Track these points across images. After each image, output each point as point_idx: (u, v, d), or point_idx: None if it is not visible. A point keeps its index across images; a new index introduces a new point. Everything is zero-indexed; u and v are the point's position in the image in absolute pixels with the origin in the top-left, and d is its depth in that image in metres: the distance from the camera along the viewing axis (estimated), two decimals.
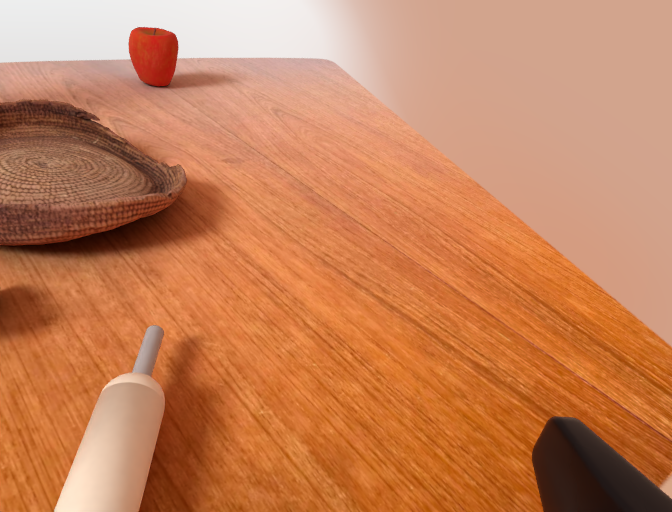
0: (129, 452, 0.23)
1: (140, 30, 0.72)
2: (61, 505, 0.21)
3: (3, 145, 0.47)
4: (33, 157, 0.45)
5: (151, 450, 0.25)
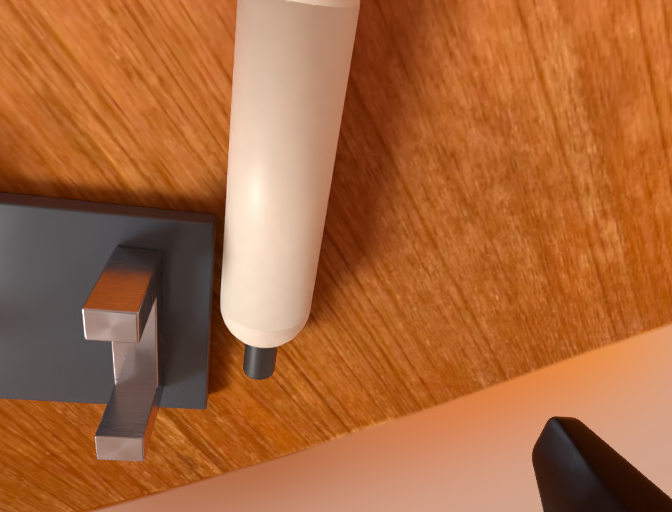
0: (314, 154, 0.15)
1: None
2: (238, 218, 0.16)
3: None
4: None
5: None
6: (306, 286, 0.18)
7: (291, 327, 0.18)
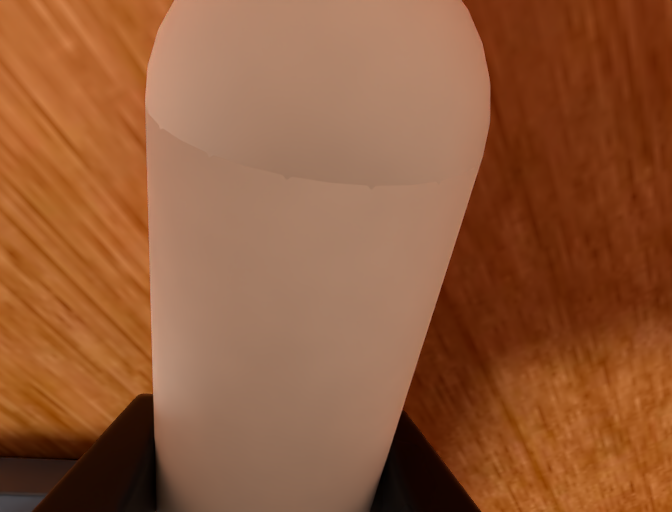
0: (353, 481, 0.06)
1: None
2: None
3: None
4: None
5: None
6: None
7: None
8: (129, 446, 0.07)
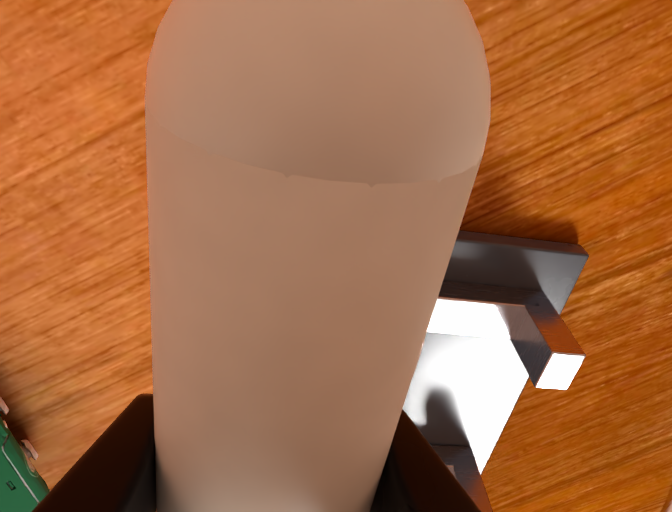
0: (353, 480, 0.06)
1: None
2: None
3: None
4: None
5: None
6: None
7: None
8: (129, 446, 0.07)
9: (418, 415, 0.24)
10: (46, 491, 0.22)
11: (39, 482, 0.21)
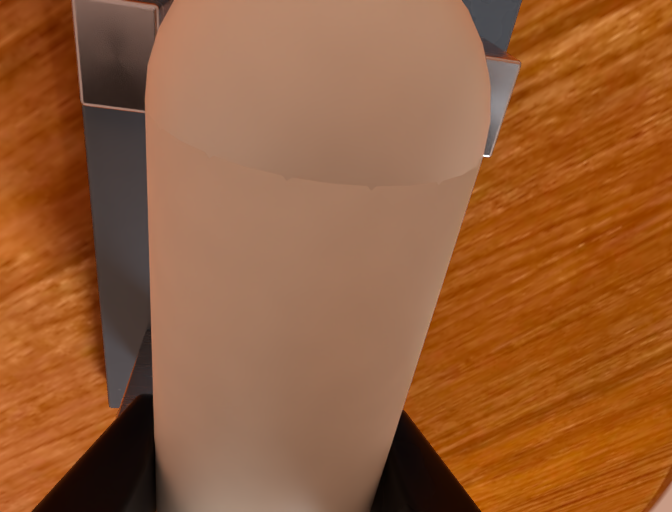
0: (353, 482, 0.06)
1: None
2: None
3: None
4: None
5: None
6: None
7: None
8: (129, 446, 0.07)
9: None
10: None
11: None
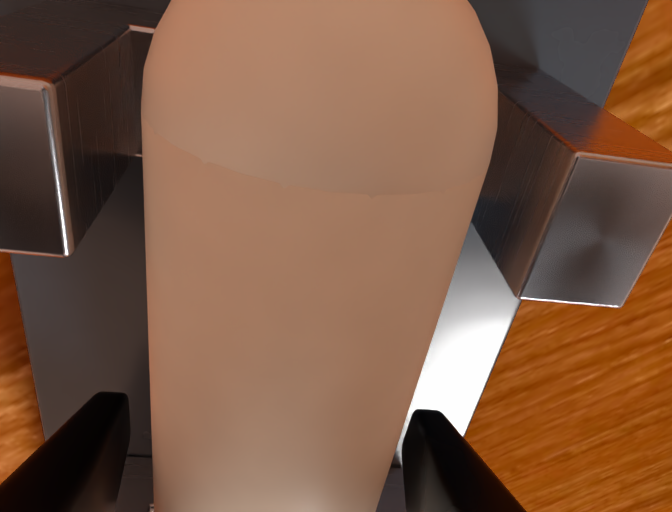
0: (353, 495, 0.06)
1: None
2: None
3: None
4: None
5: None
6: None
7: None
8: (81, 444, 0.07)
9: None
10: None
11: None
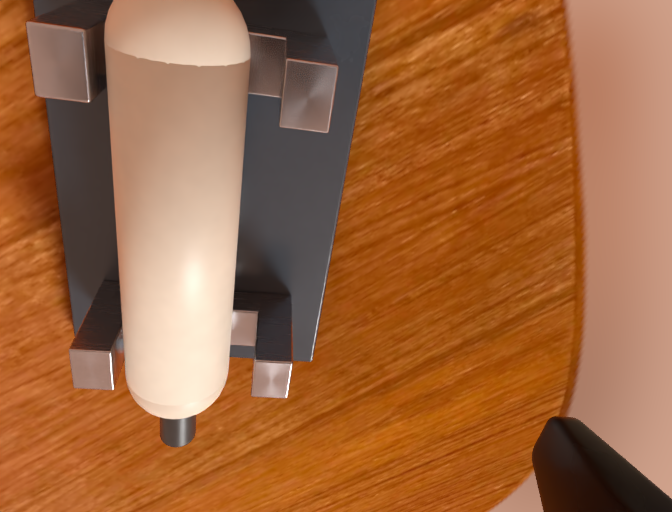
0: (194, 224, 0.13)
1: None
2: (123, 284, 0.15)
3: None
4: None
5: (235, 179, 0.14)
6: (207, 360, 0.16)
7: (191, 402, 0.16)
8: None
9: None
10: None
11: None
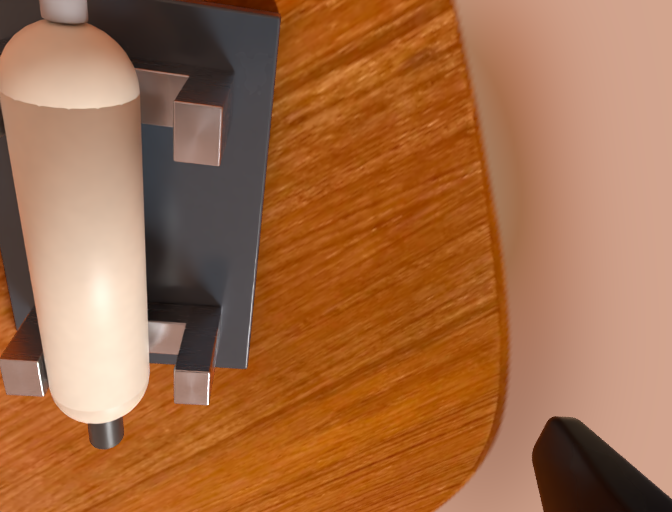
0: (82, 248, 0.14)
1: None
2: (34, 296, 0.16)
3: None
4: None
5: (126, 209, 0.15)
6: (113, 372, 0.17)
7: (100, 410, 0.18)
8: None
9: None
10: None
11: None
